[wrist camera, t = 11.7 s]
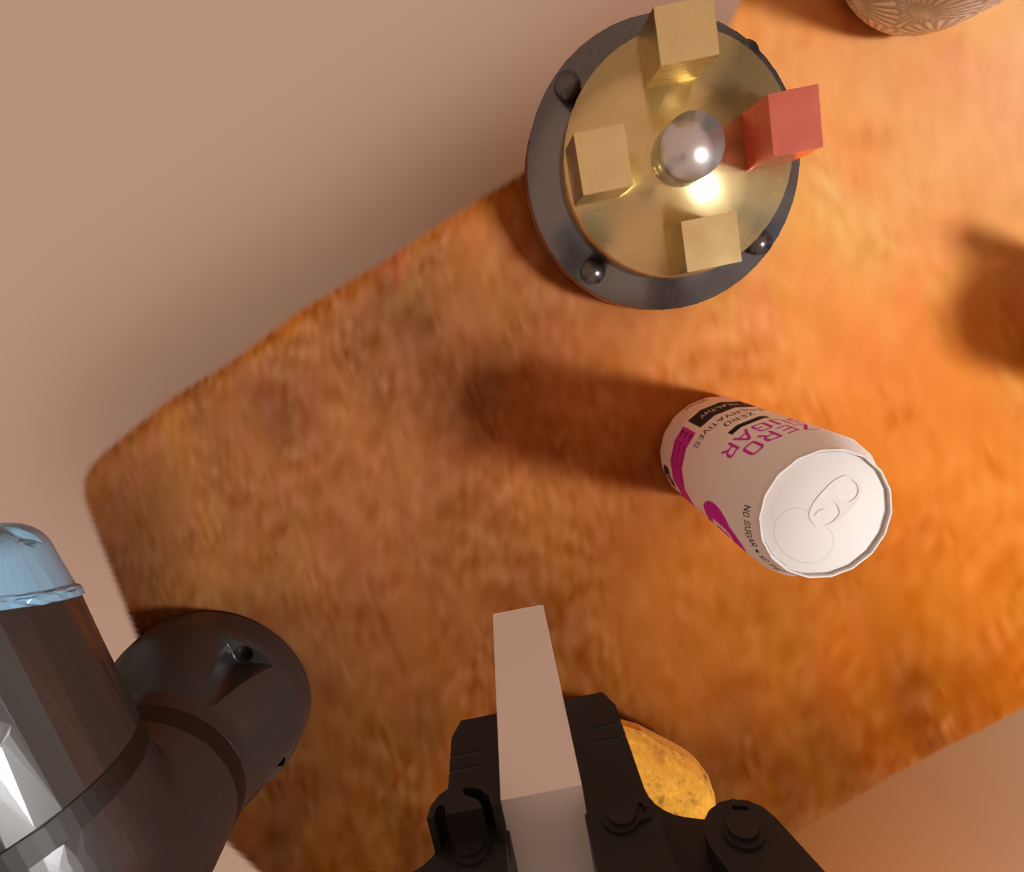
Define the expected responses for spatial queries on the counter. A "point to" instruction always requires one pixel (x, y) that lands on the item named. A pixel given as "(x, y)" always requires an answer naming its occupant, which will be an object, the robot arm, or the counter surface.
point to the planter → (917, 14)
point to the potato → (669, 773)
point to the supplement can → (778, 486)
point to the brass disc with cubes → (647, 112)
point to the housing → (676, 160)
